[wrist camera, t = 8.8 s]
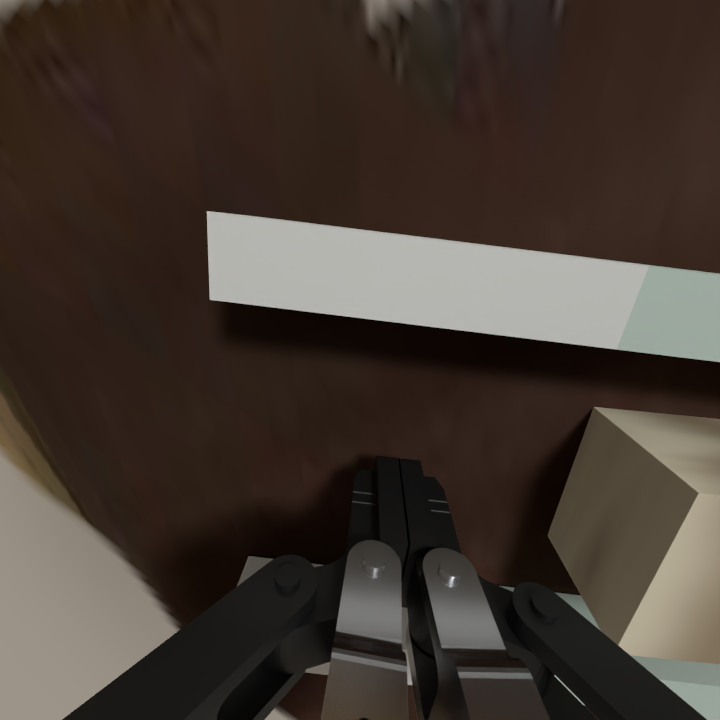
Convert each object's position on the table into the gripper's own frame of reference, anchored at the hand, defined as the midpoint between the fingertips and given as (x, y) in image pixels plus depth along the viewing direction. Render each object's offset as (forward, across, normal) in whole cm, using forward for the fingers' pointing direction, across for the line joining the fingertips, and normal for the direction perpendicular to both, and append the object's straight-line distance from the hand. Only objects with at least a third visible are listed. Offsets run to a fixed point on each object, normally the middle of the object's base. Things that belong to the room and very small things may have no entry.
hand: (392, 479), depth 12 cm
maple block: (+1, -10, 0) cm, 10 cm away
